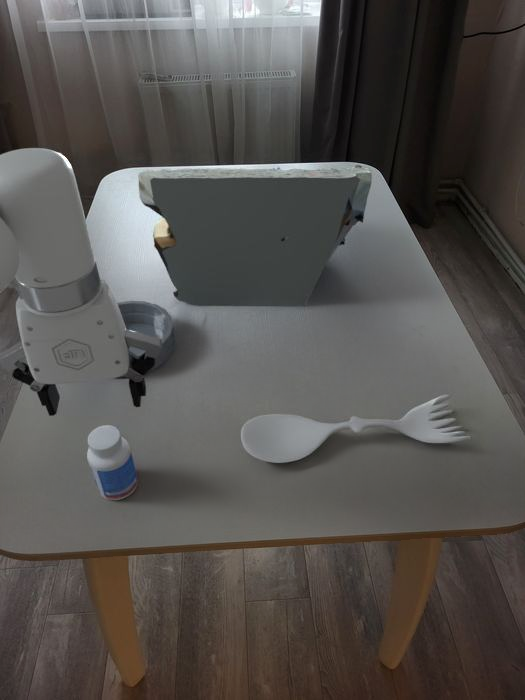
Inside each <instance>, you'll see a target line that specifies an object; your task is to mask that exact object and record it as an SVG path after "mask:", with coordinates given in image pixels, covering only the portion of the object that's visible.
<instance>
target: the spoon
mask: <svg viewBox="0 0 525 700" xmlns="http://www.w3.org/2000/svg"><path fill="white" fill-rule="evenodd" d="M450 398H451V395H450V394H443V395H440V396H438V397H436V398H432V399H431V400H429V401H426V402H424V403H422V404H420V405H417V406H415V407H413V408H412V409H410V410H409V411H408V412H407V413H406V414H405V415H404V416H403V417H402V418H400V419H387V418H362V417H359V416H357V415H352V416H350V418H349V420H348V421H343V422H336V423H327V422H322V421H319V420H315V419H311V418H308V417H306V416H301V415H296V414H290V413H289V414H287V413H272V414H271V413H268V414H262V415H258V416H255V417H253V418H250V419H249V420H247V421H246V422H245V423H244V424H243V426H242V427H241V431H240V441H241V445H242V447H243V449H244V450H245V451H246V453H248V454H249V455H250V456H252V457H253V458H256V459H258V460H260V461H264V462H268V463H275V464H283V463H290V462H295V461H298V460H301V459H303V458H306V457H307V456H309V455H311V454H312V453H314V452H315V450H317V449H318V448H319V447H320V446H321V445H322V444H323V443H324V442H325V441H326V440H327V439H328V438H329V437H330V436H331V435H333V434H335V433H337V432H339V431H344V430H351V431H353V432H354V433H355V434H361V433H363V431H364V430H366V429H371V428H384V429H390V430H393V431H396V432H398V433H400V434H402V435H405V436H407V437H409V438H411V439H413V440H415V441H418V442H421V443H427V444H457V443H458V444H459V443H465V442H468V441H470V440H471V439H472V437H471V436H469V435H466V436H463V435H464V434H466V431H465V430H464V431H463V430H459V429H461V428H462V426H461V425H455V426H450V427H446V426H449V425H450V424H453V423H454V422H456V420H457V418H455V417H450V418H442V417H445V416H448V415H449V414H451V413H452V412H454V410H453V409H447V410H444V409H446V408H448V407H450V406H451V405H452V403H450V402H447V403H445V401H447V400H449V399H450ZM443 402H444V403H443ZM439 418H442V419H439ZM457 430H459V431H457ZM461 435H462V436H461Z"/></svg>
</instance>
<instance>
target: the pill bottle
mask: <svg viewBox="0 0 525 700" xmlns="http://www.w3.org/2000/svg"><path fill="white" fill-rule="evenodd" d="M87 444H88V449H87V452H86V458H87V463H88V466H89V469H90V472H91V475H92V477H93V480H94V483H95V487H96V488H97V491H98V493H99V495H100V496H101V497H102V498H103V499H106V500H108V501H120V500H123V499H126V498H127V497H129V496H131V495H132V494H133V492H135V490H136V488H137V487H138V482H139V478H138V473H137V470H136V466H135V461H134V457H133V453H132V450H131V447H130V445H129V442H128V441H127V440H126V438H124V437H123V436H122V434H121V432H120V430H119V429H118V428H117V427H116V426H113V425H111V424H110V425H109V424H106V425H100V426H98V427H96V428H95V429H93V430H92V431H91V432H90V433H89V435H88V436H87Z"/></svg>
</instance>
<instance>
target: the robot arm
mask: <svg viewBox="0 0 525 700" xmlns="http://www.w3.org/2000/svg"><path fill="white" fill-rule="evenodd" d="M99 272H100V271H99V268H98V264H97V260H96V256H95V252H94V248H93V245H92V240H91V236H90V232H89V228H88V224H87V220H86V216H85V212H84V206H83V204H82V200H81V195H80V191H79V187H78V183H77V179H76V176H75V172H74V169H73V167H72V164H71V163H70V162H69V160H68V159H67V157H65V156H64V155H63V154H62V153H61V152H57V151H55V150H52V149H48V148H43V147H41V148H40V147H28V148H20V149H19V148H18V149H13V150H10V151H7V152H3V153H1V154H0V294H1V293H2V292H4V291H5V290H9V289H10V290H12V291H16V292H17V293H18V298H17V299H16V301H15V313H16V320H17V325H18V331H19V336H20V340H21V341H19V342H18V343H15V344H13V346H10V347H8V348H7V349H5V350H3V351H2V352H0V367H1V368H2V369H4V370H5V371H6V372H7V373H9V374H11V375H12V378H13V379H14V380H17V381H19V382H20V383H23V384H26V385H28V386H29V389H30V391H32V392H34V393H35V392H36V394H37V397H38V399H39V401H40V405H41V406H42V407H45V408H46V411H47V413H48V416H49V417H52V416H55V415H57V414H58V408H59V405H60V404H59V403H60V399H61V398H60V397H61V396H60V393H59V389H58V388H57V385H60V384H72V383H84V382H91V381H102V380H111V379H118V378H121V377H120V376H123V375H125V376H127V377H126V378H128V387H129V392H130V395H131V399H132V404H133V407H135V408H140V407H142V406H141V404H142V397H146V396H147V386H146V381H145V377H144V376H145V375H147V373H148V372H150V371H149V370H150V369H151V368H152V367H153V366H154V365H155V361H156V359H157V358H158V356H159V354H160V352H161V349H162V341H161V339H159V338H156V337H152V336H149V335H145V334H142V333H138V332H134V331H131V330H127V329H126V327H125V324H124V321H123V318H122V315H121V312H120V309H119V307H118V304H117V303H118V302H117V300H116V298H115V295H114V293H113V291H112V290H111V288H110V286H109V284H108V282H107V281H106V280H104V279H101V277H100V273H99ZM130 347H134V348H138V349H142V350H145V351H146V352H145V353H144V354H143V355H142V356H141V357H138V356H137V355H135V354H134V353H132V352H130V351H129V348H130ZM24 358H25V359H26V362H23V361H21V360H23V359H24ZM129 364H130V365H129Z"/></svg>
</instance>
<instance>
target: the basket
mask: <svg viewBox="0 0 525 700" xmlns="http://www.w3.org/2000/svg"><path fill="white" fill-rule="evenodd" d="M137 178H138V195H139V199H140V201H141V204H143V205H144V207H147V208H149V209H151V210H152V211H153V212H155V213H156V214H158V215H159V216H160V217H161V218H160V219H158V221H157V222H156V224H155V225H154V228H153V231H152V232H153V234H152V237H153V243H154V244H153V247H154V249H155V250H157V253H158V255H159V257H160V259H161V261H162V263H163V265H164V267H165V270H166V273H167V274H168V276H169V279H170V281H171V283H172V284H173V286H174V288H175V289H176V290H175V291H173V292H172V294H173V296H174V298H175V299H176V300H177V301H178V302H182V303H188V304H191V305H195V306H201V307H203V306H206V307H208V306H211V307H212V306H218V307H220V306H221V307H222V306H223V307H224V306H226V307H306V306H307V303H308V301H309V299H310V297H311V295H312V292H313V290H314V289H315V286H316V285H317V283H318V280H319V279H320V276H321V274H322V272H323V271H324V268H325V266H326V264H327V262H328V261H329V260H330V259H331V257H332V256H333V254H334V253H335V252H336V250H337V249H338V248H339V246H342V245H343V246H344V245H345V244H346V242H345V241H346V239H345V238H346V236H347V235H348V233H349V232H350V231H351V229H352V228H353V227H354V226H355V225H356V224H357V223H358V222H360V223H362V224H363V223H364V218H365V211H366V207H367V203H368V197H369V194H370V192H371V191H370V190H371V187H372V182H373V181H372V180H373V173H372V168H370V167H363V166H362V165H359V164H357V165H355V166H354V167H347V168H332V167H331V168H322V169H320V168H317V169H304V168H287V169H283V168H280V167H279V166H278V167H277V168H244V167H243V168H242V167H241V168H235V167H234V168H233V167H231V168H230V167H214V168H212V167H211V168H210V167H207V168H203V167H200V168H195V167H194V168H192V167H190V168H186V167H185V168H162V169H144V170H141V171H139V172H138V174H137Z"/></svg>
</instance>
